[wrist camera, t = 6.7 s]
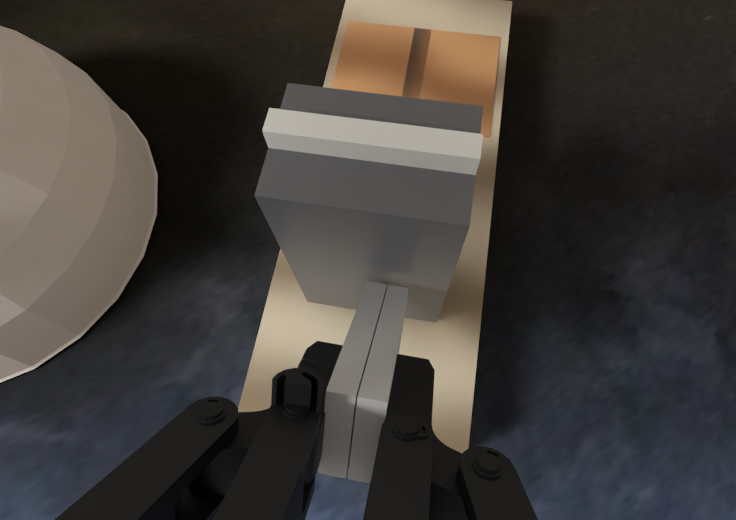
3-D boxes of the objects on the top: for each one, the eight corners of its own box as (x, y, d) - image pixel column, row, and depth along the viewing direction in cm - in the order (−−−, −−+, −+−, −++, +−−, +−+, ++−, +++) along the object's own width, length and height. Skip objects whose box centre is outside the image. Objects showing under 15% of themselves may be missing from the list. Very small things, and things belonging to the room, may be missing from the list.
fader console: (458, 458, 24) (467, 457, 21) (253, 419, 25) (235, 414, 22) (501, 40, 33) (512, -1, 30) (352, 24, 34) (349, -16, 31)
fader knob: (436, 322, 23) (474, 212, 13) (307, 301, 23) (246, 180, 13) (446, 242, 24) (488, 87, 14) (325, 225, 25) (282, 63, 15)
